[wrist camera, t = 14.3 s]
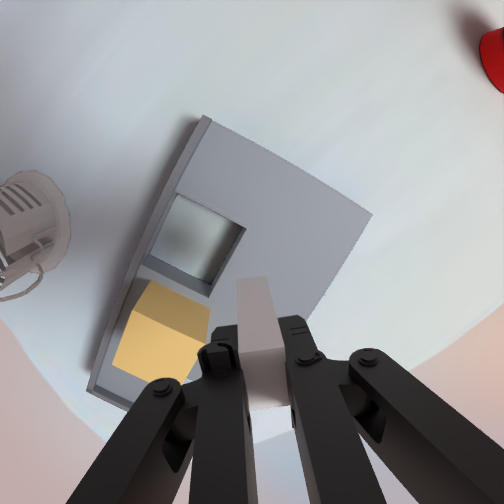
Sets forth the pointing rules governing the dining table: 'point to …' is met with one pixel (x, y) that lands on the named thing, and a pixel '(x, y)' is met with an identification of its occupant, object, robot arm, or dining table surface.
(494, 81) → the soda can
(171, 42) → the dining table surface
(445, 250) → the dining table surface
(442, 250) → the dining table surface
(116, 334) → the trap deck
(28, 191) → the french press
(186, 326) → the ochre block
